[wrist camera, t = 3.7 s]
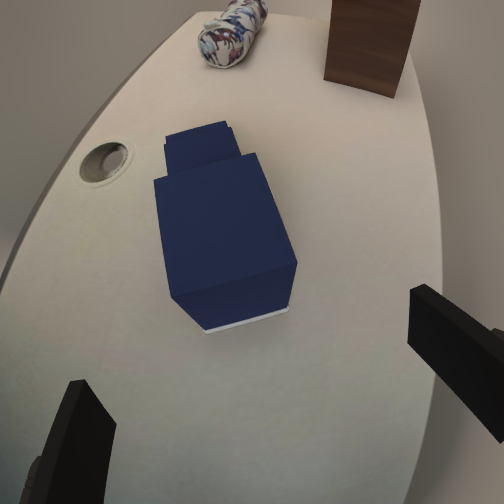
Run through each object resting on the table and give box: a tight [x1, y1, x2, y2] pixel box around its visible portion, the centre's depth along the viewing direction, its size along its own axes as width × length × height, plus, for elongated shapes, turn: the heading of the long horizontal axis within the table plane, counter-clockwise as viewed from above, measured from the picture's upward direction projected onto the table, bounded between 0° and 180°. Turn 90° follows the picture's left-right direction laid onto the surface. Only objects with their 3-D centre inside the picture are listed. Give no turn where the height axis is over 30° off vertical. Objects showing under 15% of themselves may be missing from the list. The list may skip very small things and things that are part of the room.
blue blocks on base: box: [154, 121, 297, 334], centre depth 28 cm, size 22×8×12 cm, turn 16°
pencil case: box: [198, 0, 268, 69], centre depth 46 cm, size 22×8×10 cm, turn 168°
